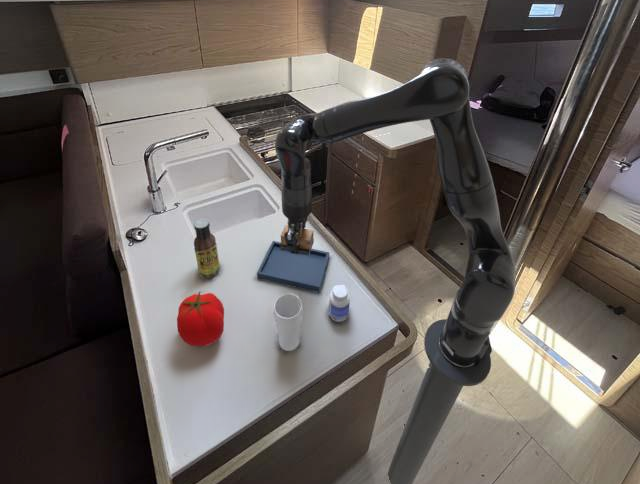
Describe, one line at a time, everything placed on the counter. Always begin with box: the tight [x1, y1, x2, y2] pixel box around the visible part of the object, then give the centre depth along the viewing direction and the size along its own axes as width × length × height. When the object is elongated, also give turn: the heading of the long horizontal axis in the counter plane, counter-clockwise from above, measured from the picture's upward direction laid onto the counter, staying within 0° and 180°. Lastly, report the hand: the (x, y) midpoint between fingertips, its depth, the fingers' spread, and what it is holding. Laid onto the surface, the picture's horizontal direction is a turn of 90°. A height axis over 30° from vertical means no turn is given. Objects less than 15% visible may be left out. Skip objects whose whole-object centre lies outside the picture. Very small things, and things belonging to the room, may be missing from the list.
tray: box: [256, 240, 330, 293], centre depth 102 cm, size 20×14×2 cm
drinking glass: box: [273, 292, 304, 352], centre depth 79 cm, size 7×7×15 cm
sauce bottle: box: [193, 218, 221, 279], centre depth 96 cm, size 6×6×20 cm
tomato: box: [176, 291, 225, 347], centre depth 81 cm, size 12×12×13 cm
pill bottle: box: [328, 284, 351, 323], centre depth 87 cm, size 5×5×10 cm
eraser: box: [280, 224, 315, 256], centre depth 88 cm, size 8×5×5 cm, turn 77°
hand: (297, 245), depth 89 cm, fingers closed on eraser, 5 cm apart
